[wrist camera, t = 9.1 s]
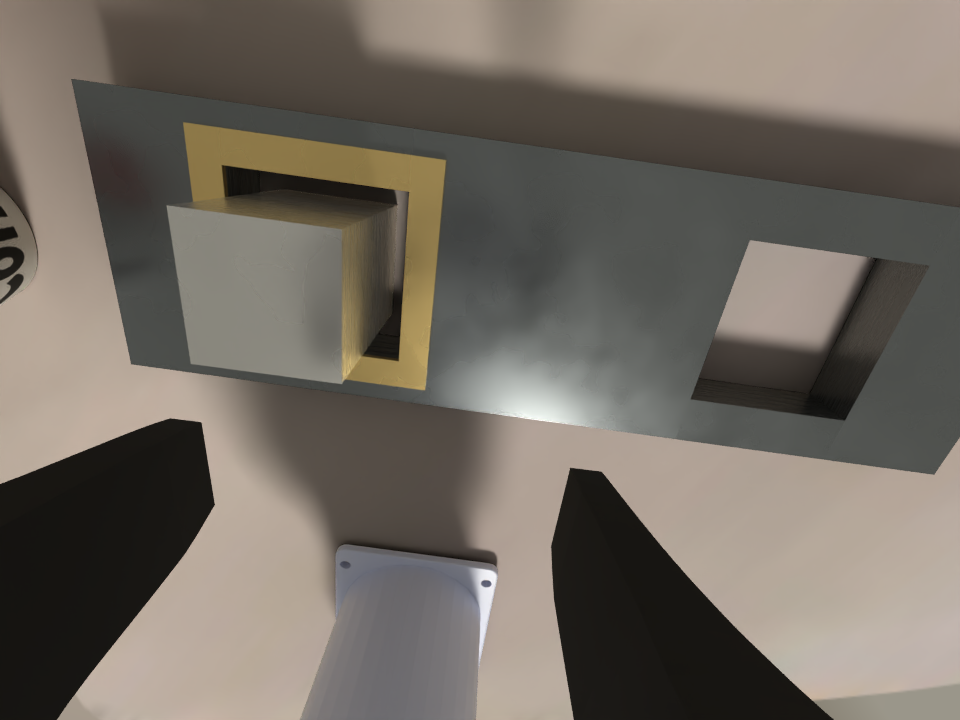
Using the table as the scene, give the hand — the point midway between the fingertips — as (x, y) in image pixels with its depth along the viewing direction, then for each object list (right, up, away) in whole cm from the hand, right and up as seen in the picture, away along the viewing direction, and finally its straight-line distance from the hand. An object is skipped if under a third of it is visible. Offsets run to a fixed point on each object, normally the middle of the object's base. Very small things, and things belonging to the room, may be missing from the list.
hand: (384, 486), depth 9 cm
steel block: (-3, +6, +8) cm, 10 cm away
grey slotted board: (+5, +5, +8) cm, 10 cm away
